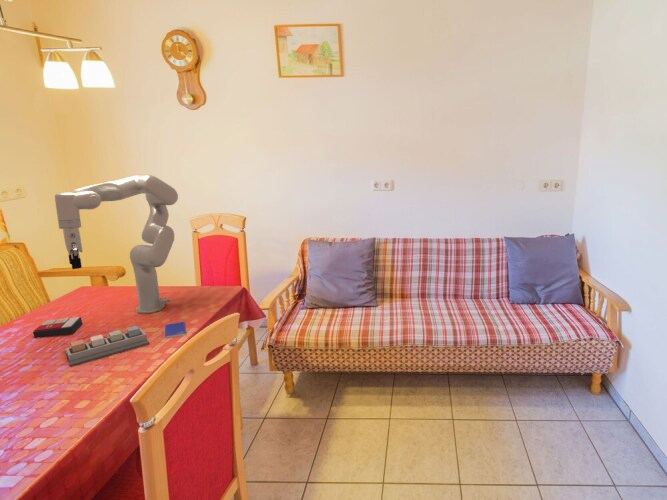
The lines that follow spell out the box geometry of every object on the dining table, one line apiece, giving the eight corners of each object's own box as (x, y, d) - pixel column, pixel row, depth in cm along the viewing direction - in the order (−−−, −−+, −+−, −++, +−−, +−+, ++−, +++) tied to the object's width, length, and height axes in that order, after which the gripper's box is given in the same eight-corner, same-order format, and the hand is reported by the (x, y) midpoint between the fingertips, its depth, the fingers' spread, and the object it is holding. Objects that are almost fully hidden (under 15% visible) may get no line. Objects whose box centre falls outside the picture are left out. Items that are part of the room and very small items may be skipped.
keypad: (140, 332, 181) (139, 325, 180) (149, 344, 170) (148, 337, 169) (65, 352, 165) (64, 345, 164) (70, 366, 154) (69, 359, 153)
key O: (102, 340, 167) (101, 334, 167) (104, 343, 164) (103, 337, 164) (91, 343, 165) (89, 337, 164) (92, 347, 162) (91, 341, 161)
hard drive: (185, 332, 177) (184, 321, 189) (164, 336, 174) (164, 324, 186) (186, 336, 178) (185, 324, 189) (165, 339, 175) (165, 327, 186)
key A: (120, 335, 171) (119, 329, 171) (122, 338, 168) (121, 333, 168) (109, 338, 169) (108, 332, 168) (111, 341, 166) (110, 336, 165)
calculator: (44, 320, 187) (81, 315, 190) (46, 329, 189) (83, 324, 191) (31, 330, 177) (70, 325, 179) (34, 340, 178) (73, 334, 180)
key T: (137, 331, 175) (136, 325, 174) (140, 334, 172) (139, 328, 171) (127, 333, 173) (126, 328, 172) (129, 337, 170) (128, 331, 169)
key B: (83, 345, 163) (82, 339, 163) (85, 349, 160) (84, 343, 160) (71, 348, 161) (70, 342, 160) (73, 352, 158) (72, 346, 157)
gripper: (83, 225, 164) (89, 269, 168) (78, 220, 178) (83, 260, 181) (60, 227, 160) (66, 272, 163) (57, 222, 173) (62, 263, 177)
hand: (75, 266), depth 172 cm, fingers open, 9 cm apart
